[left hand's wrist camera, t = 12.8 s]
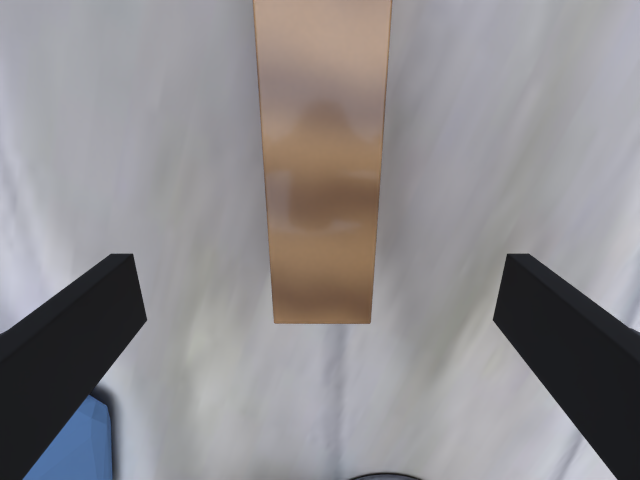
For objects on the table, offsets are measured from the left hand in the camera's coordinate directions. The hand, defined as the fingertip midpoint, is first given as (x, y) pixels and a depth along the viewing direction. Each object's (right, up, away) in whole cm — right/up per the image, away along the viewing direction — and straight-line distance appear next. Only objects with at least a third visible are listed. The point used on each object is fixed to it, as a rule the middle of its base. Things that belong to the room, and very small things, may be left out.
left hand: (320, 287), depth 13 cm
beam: (0, +28, +4) cm, 29 cm away
